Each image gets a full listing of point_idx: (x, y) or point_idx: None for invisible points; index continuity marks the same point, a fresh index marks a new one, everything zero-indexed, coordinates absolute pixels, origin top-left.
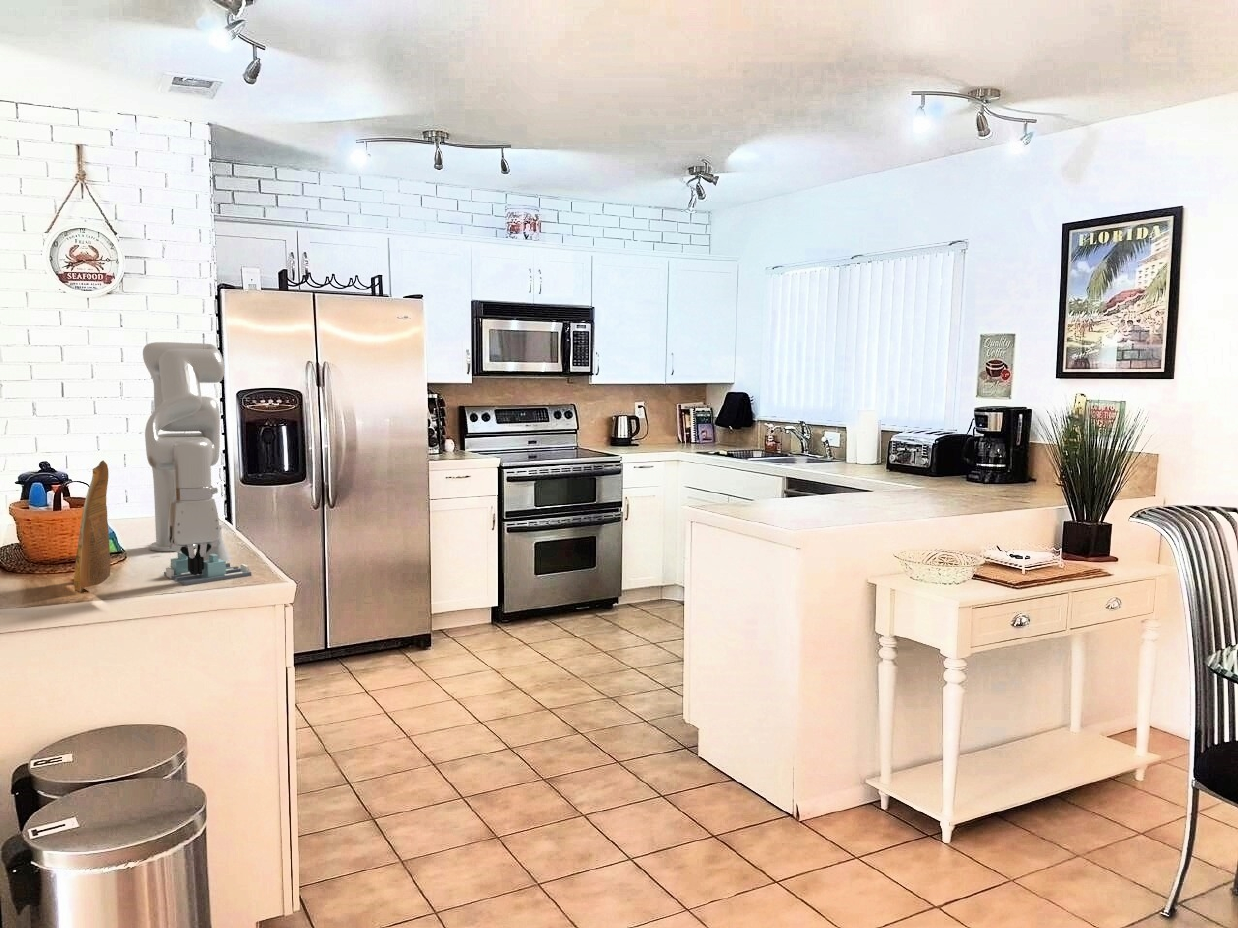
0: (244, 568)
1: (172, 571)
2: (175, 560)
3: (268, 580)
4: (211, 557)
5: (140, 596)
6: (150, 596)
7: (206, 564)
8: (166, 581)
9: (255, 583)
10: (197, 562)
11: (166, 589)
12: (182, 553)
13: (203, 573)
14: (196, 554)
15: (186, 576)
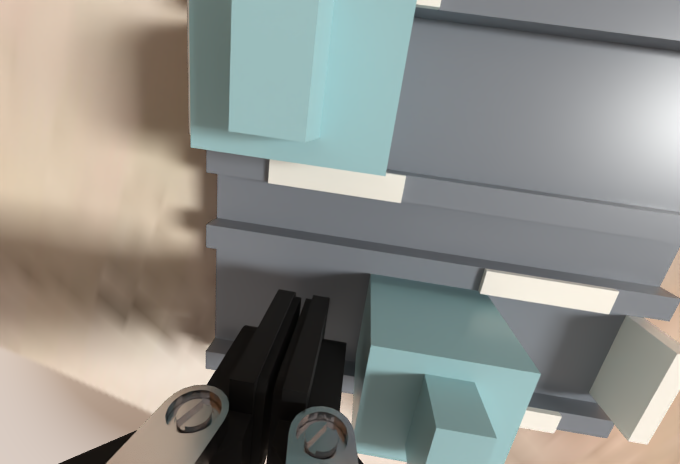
0: (628, 393)
1: None
2: (196, 113)
3: (620, 451)
4: (417, 455)
5: (31, 278)
6: (70, 312)
7: (355, 417)
8: None
9: (534, 451)
10: (267, 446)
11: (167, 241)
12: (248, 131)
13: (368, 305)
14: (271, 461)
15: (272, 251)
